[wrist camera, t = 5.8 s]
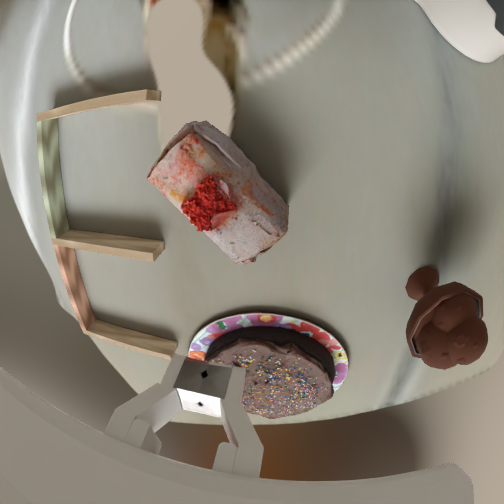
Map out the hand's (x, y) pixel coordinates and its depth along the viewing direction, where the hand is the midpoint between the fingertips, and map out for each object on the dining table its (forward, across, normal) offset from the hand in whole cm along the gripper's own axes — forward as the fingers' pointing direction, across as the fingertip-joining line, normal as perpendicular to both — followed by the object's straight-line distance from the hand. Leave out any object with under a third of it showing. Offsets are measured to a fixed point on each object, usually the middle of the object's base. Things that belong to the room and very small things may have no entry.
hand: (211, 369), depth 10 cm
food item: (+23, +4, -1) cm, 23 cm away
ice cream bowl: (+23, -23, +9) cm, 34 cm away
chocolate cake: (+23, -3, +30) cm, 38 cm away
